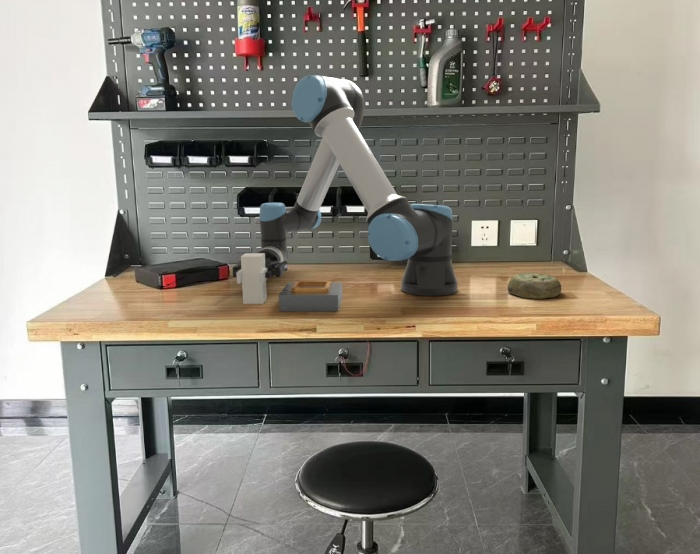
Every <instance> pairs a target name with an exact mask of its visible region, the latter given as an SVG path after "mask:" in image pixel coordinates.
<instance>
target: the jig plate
mask: <svg viewBox="0 0 700 554" xmlns="http://www.w3.org/2000/svg"><path fill="white" fill-rule="evenodd" d="M342 300H343V282H333V281H332V280H295V282H287V284H286V285H285V286H284V288H283V289H282V290H281V291H280V293H279V294H278V306H279V307H278V309H279V312H311V313H312V312H314V313H315V312H316V313H317V312H319V313H320V312H329V313H330V311H333V312H332V313H335V312H334V311H338V312H339V310H340V307H341V303H342Z"/></svg>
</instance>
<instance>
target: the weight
mask: <svg viewBox="0 0 700 554" xmlns="http://www.w3.org/2000/svg"><path fill="white" fill-rule="evenodd" d="M507 292H508V293H509V294H511V295H515V296H517V297H519V298H523V299H535V300H542V299H543V300H544V299H547V298H548V299H549V298H552V299H553V298H555V297H557V296H558V295H560V294H561V293H562V284H561V282H560V281H559V279H558V278H557V277H555V276H554V275H549V274H545V273H537V272H536V273H535V272H534V273H533V272H523V273H516V274H514V275H512V276H511V277H510V279H509V280H508V283H507Z"/></svg>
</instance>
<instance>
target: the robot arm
mask: <svg viewBox="0 0 700 554" xmlns="http://www.w3.org/2000/svg"><path fill="white" fill-rule="evenodd" d="M291 108H292V111H293V114H294V116H295V117H296V118H297V119H298V120H299V121H301V122H303V123H307V124H309V125H310V128H312V130H313V132H314V134H315V136H316V137H319V138H322V139H321V141H320V143H319V146H318V148H317V150H316V153H315V155H314V158H313V160H312V161H311V162H312V163H311V165H310V167H309V169H308V172H307V174H306V177H305V178H304V179H305V180H304V182H303V183H302V186H301V189H300V192H299V194H298V197H297V198H296V201H295V203H294V205H293V207H286V205H285V204H284V203H283V202H265V203H262V204H260V207H259V217H258V219H259V227H260V249H259V251H257V253H265V268H264V269H263V270H262V271H261V272H260V273H259V276H260V284H263V283H264V282H265V281H266V282H267V280H268V279H272V278H274V276H275V278H280V277H281V276H282V275H283V274H284V273H285V272H287V271H288V259H289V255H290V252H289V249H288V246H287V234H290V233H296V232H303V231H304V232H306V231H311V230H315V229H316V228H318V227H319V226H320V225H321V222H322V213H321V210H320V209H321V206H322V204H323V203H324V199H325V198H326V195H327V193H328V191H329V188H330V187H331V184H332V181H333V180H334V177H335V175H336V173H337V170H338V168H339V167H341V168H342V171H343V172H344V174H345V176H346V177H347V179H348V180H349V182H350V185H351V186H352V187H353V189H354V191H355V193H356V194H357V196H358V198H359V199H360V201H361V203H362V205H363V207H364V208H365V210H366V212H367V217H366V219H365V222H366V223H367V225H368V228H367V233H368V235H367V241H368V244H369V246H370V248H371V249H372V251H373V252H374V253H375V255H376V256H378V257H380V259H383V260H384V261H385V260H386V261H389V262H390V261H391V262H393V261H394V262H395V261H404V260H407V264H406V267H405V270H404V271H403V272H404V273H403V276H402V277H401V278H402V279H401V281H400V290H401V291H402V292H403V293H406V294H409V295H417V296H427V297H431V296H433V297H436V296H437V297H438V296H447V295H452V294H454V293H456V292H457V291H458V286H459V285H458V280H457V276H456V272H455V270H454V267H453V263H452V252H453V251H452V249H453V248H452V247H453V222H454V218H453V209H452V208H451V207H450V206H447V205H439V204H438V205H437V204H423V203H411V204H410V202H409V200H408V198H407V197H405V196H403V195H398V194H397V192H396V189H395V188H394V187H393V185H392V183H391V182H390V181H389V178H388V177H387V176H386V174H385V172H384V170H383V168H382V167H381V165H380V164H379V161H378V160H377V159H376V157H375V155H374V154H373V152H372V150H371V148H370V147H369V146H368V143H367V142H366V140H365V139H364V137H363V135H362V133H361V132H360V131H359V130H360V127H361V125H362V121H363V118H364V114H365V99H364V95H363V93H362V91H361V89H360V88H359V87H358V85H356V83H354V82H353V81H351V80H349V79H344V78H337V77H330V76H325V75H321V74H320V75H319V74H316V75H313V74H312V75H306V76H303V77H302V78H301V79H300V80H299V81H298V82H297V83H296V85H295V87H294V89H293V92H292V98H291ZM232 277H233V278H236V284H242V271H241V260H239V261H238V263H237V264H235V265H234V266H232Z"/></svg>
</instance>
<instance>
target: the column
mask: <svg viewBox="0 0 700 554" xmlns="http://www.w3.org/2000/svg"><path fill="white" fill-rule="evenodd" d="M240 261H241V271H242V282H241V287H242V291H241V292H242V304H243V305H263V304H264V303H265V302H266V301H267V299H268V297H267V280H266V281H265V282H264V283H263V284H260V276H259V273H260V272H261V271H262V270H263V269H264V268H265V253H258V252H255V253H253V252H252V253H249V252H248V253H244V254H242V255H241V256H240Z"/></svg>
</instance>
